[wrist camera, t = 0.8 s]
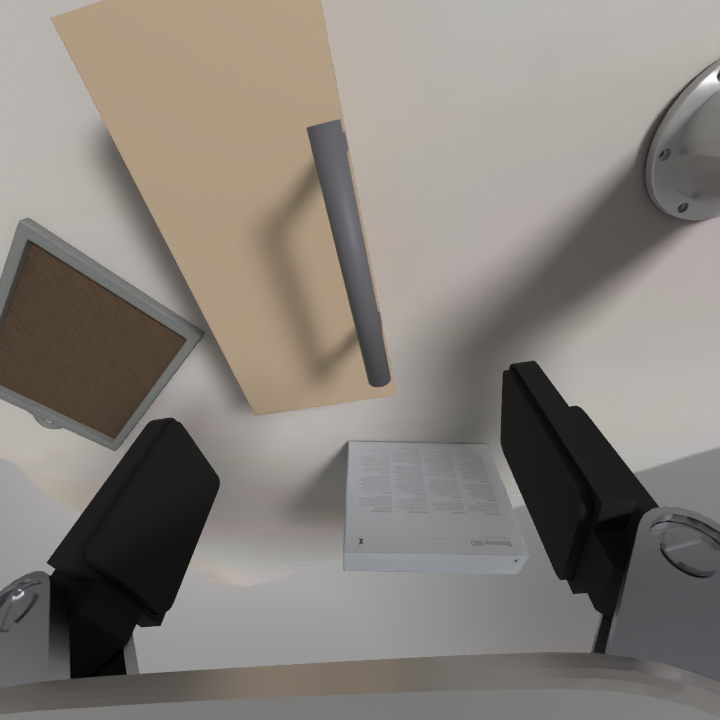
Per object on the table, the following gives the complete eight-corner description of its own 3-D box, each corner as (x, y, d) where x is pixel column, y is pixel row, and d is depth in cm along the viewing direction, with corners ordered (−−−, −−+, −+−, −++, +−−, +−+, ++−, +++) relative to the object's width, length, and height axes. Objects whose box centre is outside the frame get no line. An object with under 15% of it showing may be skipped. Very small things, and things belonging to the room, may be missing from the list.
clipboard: (201, 337, 40) (108, 460, 52) (207, 330, 41) (115, 452, 54) (18, 219, 32) (-38, 395, 45) (31, 215, 34) (-26, 387, 47)
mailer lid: (314, -62, 18) (277, -198, 10) (398, 389, 35) (406, 461, 27) (61, 21, 20) (-126, -43, 12) (257, 410, 37) (229, 483, 29)
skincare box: (347, 463, 54) (341, 572, 40) (347, 439, 50) (341, 549, 37) (481, 467, 54) (519, 577, 40) (490, 443, 50) (533, 554, 37)
